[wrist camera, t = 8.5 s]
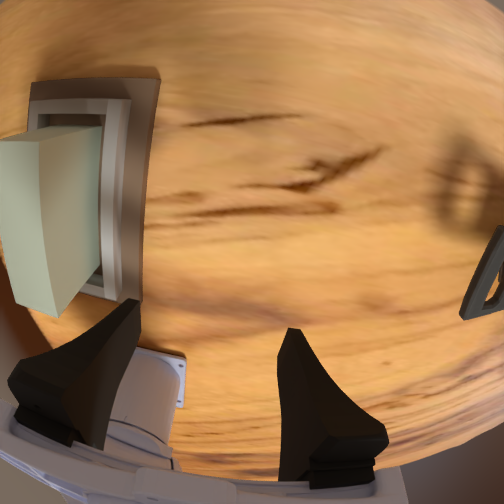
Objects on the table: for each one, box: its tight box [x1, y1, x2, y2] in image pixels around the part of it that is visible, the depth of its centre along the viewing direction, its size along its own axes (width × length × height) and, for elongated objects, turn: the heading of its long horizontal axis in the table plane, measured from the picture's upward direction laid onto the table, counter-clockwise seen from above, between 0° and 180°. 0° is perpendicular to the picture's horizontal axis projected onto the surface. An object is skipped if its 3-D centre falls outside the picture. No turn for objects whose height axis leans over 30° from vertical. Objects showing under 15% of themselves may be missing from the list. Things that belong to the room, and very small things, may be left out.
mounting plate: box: [27, 78, 161, 305], centre depth 19 cm, size 18×11×2 cm, turn 168°
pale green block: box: [0, 124, 102, 318], centre depth 16 cm, size 11×4×7 cm, turn 168°
